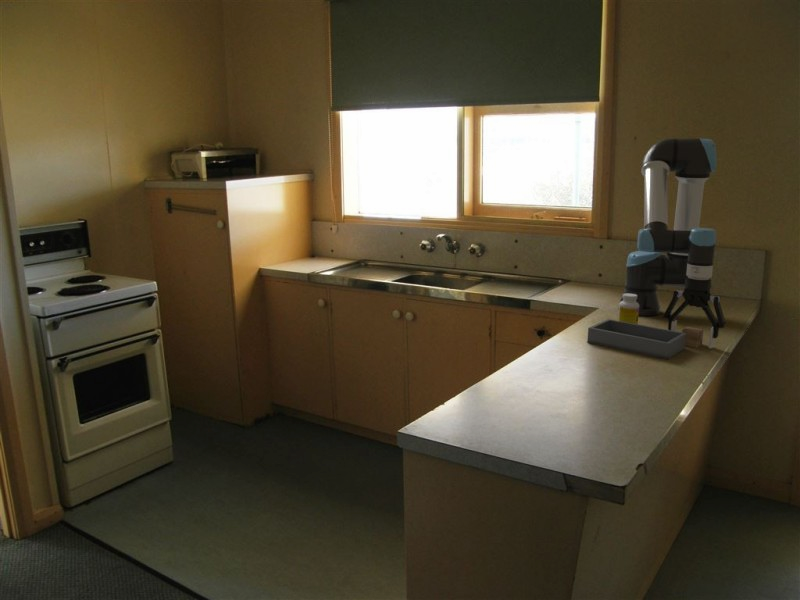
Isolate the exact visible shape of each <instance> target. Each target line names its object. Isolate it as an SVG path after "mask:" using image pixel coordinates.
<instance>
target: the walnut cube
mask: <svg viewBox="0 0 800 600" xmlns="http://www.w3.org/2000/svg"><path fill="white" fill-rule="evenodd" d="M681 332H682V333H686V343H685V347H690V348H695V349H696V348H698V347H700V346H702V345H703V339H704V338H703V337H704V329H701V328H698V327H697V328H696V327H691V326H686V327H685V328H683V329H682V330H681Z"/></svg>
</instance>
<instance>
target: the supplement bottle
mask: <svg viewBox="0 0 800 600" xmlns="http://www.w3.org/2000/svg"><path fill="white" fill-rule="evenodd" d="M622 295H623V301H621V302H620V301H619V302H620V303H618V307H619V310H618V315H617V321H622V322H628V323H633V324H639V304H638V303H637V302H636V300H637V295H636V294H630V293H626V294H623V293H622Z"/></svg>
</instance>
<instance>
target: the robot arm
mask: <svg viewBox="0 0 800 600" xmlns="http://www.w3.org/2000/svg"><path fill="white" fill-rule="evenodd" d="M640 167H641V170H640V171H641V175H642V177H643V178H644V180H643V181H644V185H643V191H644V192H643V193H644V195H643V199H644V200H643V203H644V204H643V228H640V229H639V230H638V232H637V233H638V234H637V243H636V244H637V250H635V251H631V252H630V253H629V254H628V256H627V260H626V264H625V266H626V271H625V272H626V273H625V282H624V291H623V293H622V296H621V298H620V300H619V303H620V302H621V301H623V294H626V293H630V294H636V295H637V300H636V302H637V303H638V304H639V316H640V317H641V316H642V317H643V316H644V317H648V316H649V317H651V316H652V317H653V316H657V315H658V316H659V314H660V313H661V305H660V301H659V297H658V286H660V287H661V286H662V287H675V288H677V287H681V288H684V290H680V289H676V290H674V291H673V294H672V295H673V296H672V299H671V300H670V302H669V304H668V305H667V308H666V310H665V312H664V313H663V318H664V319H666V320H667V321H668V327H667V328H668V329H667V330H671V331H677V324H678V320H676V318H677V317H678V316H679V315H680V314H681V313H682V312H683V311H684V310H685V308H687V307H688V306H690V307H696V308H701V309H702V310H703V311H704V313H705V315H706V316H707V319H708V320H709V322H710V324H711V325H712V327H711V328H710V332H709V341H708V346H707V347H708V348H707V349H713V348H714V346H715V339H718V337H719V333H720V332H719V331H720V329H721V328H723V329H724V327H725V326H727V323H726V319H725V316H724V311H723V309H722V305H721V295H716V296H715V295H711V288H712V287H711V285H712V277H713V269H714V268H713V266H714V258H715V250H716V243H717V231H716V230H715V229H714V228H707V227H700V224H701V223H700V221H701V215H702V214H701V213H702V206H703V199H704V197H703V196H704V189H705V183H706V181H708V180H709V179H710V178H711V177H710V176H711V174H713V173H715V172H716V169H717V149H716V144H715V142H714V141H713V140H712V139H710V138H700V137H699V138H698V137H697V138H696V137H694V138H693V137H689V138H688V137H687V138H685V137H684V138H674V137H671V138H669V137H668V138H665V139H660V140H659V141H658V142H655V144H653V145H651V147H650V148H649V149H648V150H647V152H646V153H645V155H644V157H643V159H642V161H641V166H640ZM671 172H674V178H675V179H676V180H677V181H678V186H677V195H676V196H677V197H676V203H675V204H676V206H675V213H674V223H673V229H669V218H668V216H669V211H668V210H669V209H668V208H669V207H668V204H669V203H668V176H669V175H670V173H671ZM662 253H666V254H662ZM681 297H683V298H684V301H683V302H682V303H681V304H680V305H679V307H678V308H677V309H676V310H675V311H674V312H673V310H674V308H675V306H676V305H677V303H678V301H679V299H680V298H681ZM710 300H711V302H712V303H713V308H714V310H715V313H714V312H713V311H712V309H711V306H710V305H709V301H710ZM619 303H618V304H619ZM617 307H618V308H617V310H618V311H619V306H617ZM672 312H673V313H672ZM715 314H716V316H715ZM639 316H638V317H639Z"/></svg>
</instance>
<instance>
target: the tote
mask: <svg viewBox="0 0 800 600" xmlns="http://www.w3.org/2000/svg"><path fill="white" fill-rule="evenodd" d="M587 329H588V331H587V342H586V343H588V344H592V345H596V346H601V347H607V348H611V349H615V350H621V351H625V352H629V353H635V354H640V355H643V356H644V355H645V356H649V357H653V358H657V359H658V358H660V359H662V360H663V359H664V360H669V359H670V358H672V357H674V356H676V355H677V354H679V353H680V352H681V351H683V350H685V349H686V346H685V343H686V333H682V331H677V330H676V331H671V330H668V329H664V328H660V327H654V326H648V325H644V324H639V323H638V324H633V323H628V322H622V321H618V319H617V320H615V319H611V318H610V319H609V318H607V319H605V320H603V321H601V322H599V323H596V324H594V325H591V326H589V327H588V328H587Z"/></svg>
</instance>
